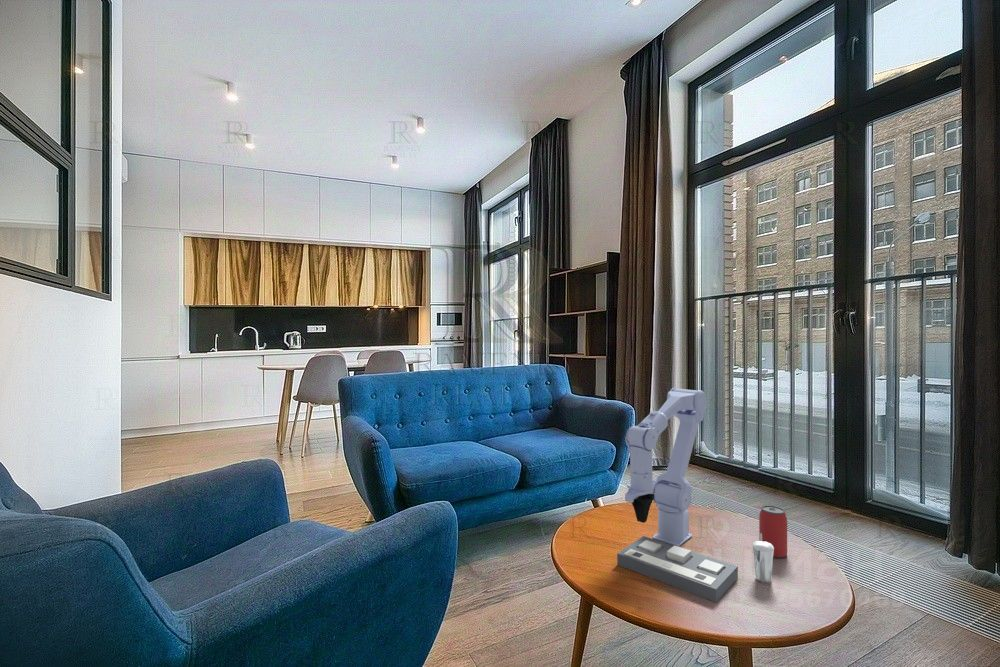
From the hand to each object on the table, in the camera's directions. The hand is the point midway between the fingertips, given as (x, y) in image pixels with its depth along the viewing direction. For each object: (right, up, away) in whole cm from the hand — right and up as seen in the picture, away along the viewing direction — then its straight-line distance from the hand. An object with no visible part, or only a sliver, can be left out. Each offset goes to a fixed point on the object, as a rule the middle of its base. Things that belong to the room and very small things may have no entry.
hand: (641, 521), depth 131 cm
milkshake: (+26, -9, -13) cm, 30 cm away
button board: (+6, -9, -9) cm, 14 cm away
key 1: (+2, -9, -2) cm, 9 cm away
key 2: (+13, -9, -13) cm, 20 cm away
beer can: (+36, -9, 0) cm, 37 cm away
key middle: (+7, -8, -7) cm, 13 cm away
